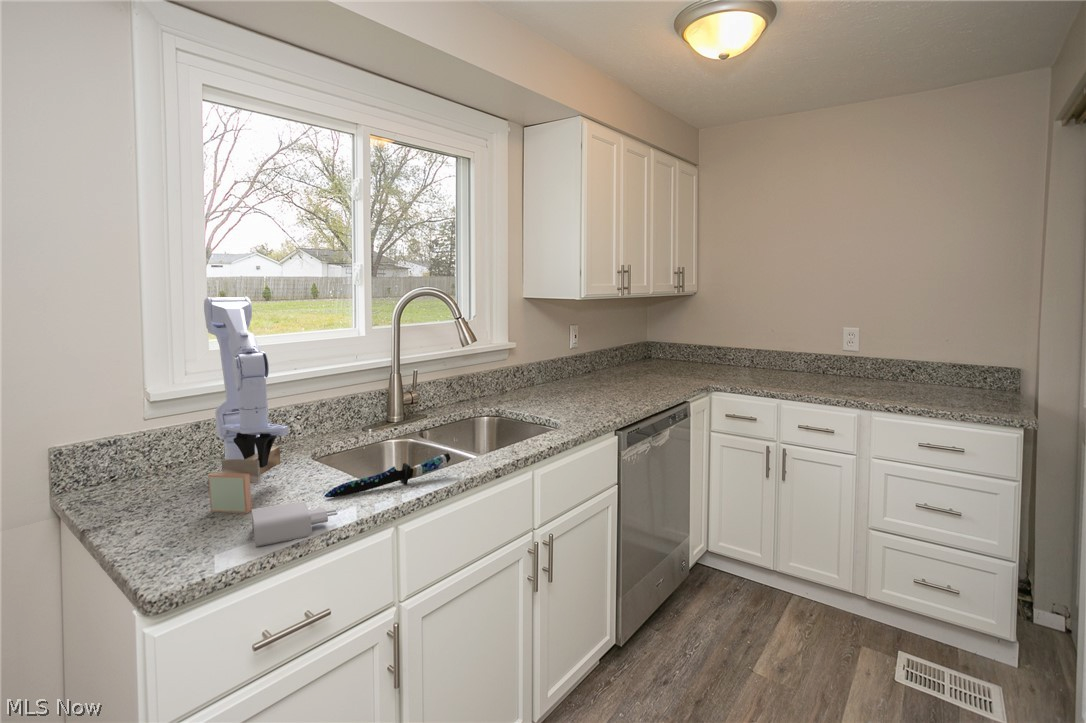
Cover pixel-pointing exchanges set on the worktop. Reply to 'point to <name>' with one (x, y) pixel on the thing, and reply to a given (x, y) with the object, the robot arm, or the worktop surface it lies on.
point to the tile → (230, 492)
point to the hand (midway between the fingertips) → (257, 466)
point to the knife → (389, 477)
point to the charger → (285, 522)
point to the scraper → (251, 465)
